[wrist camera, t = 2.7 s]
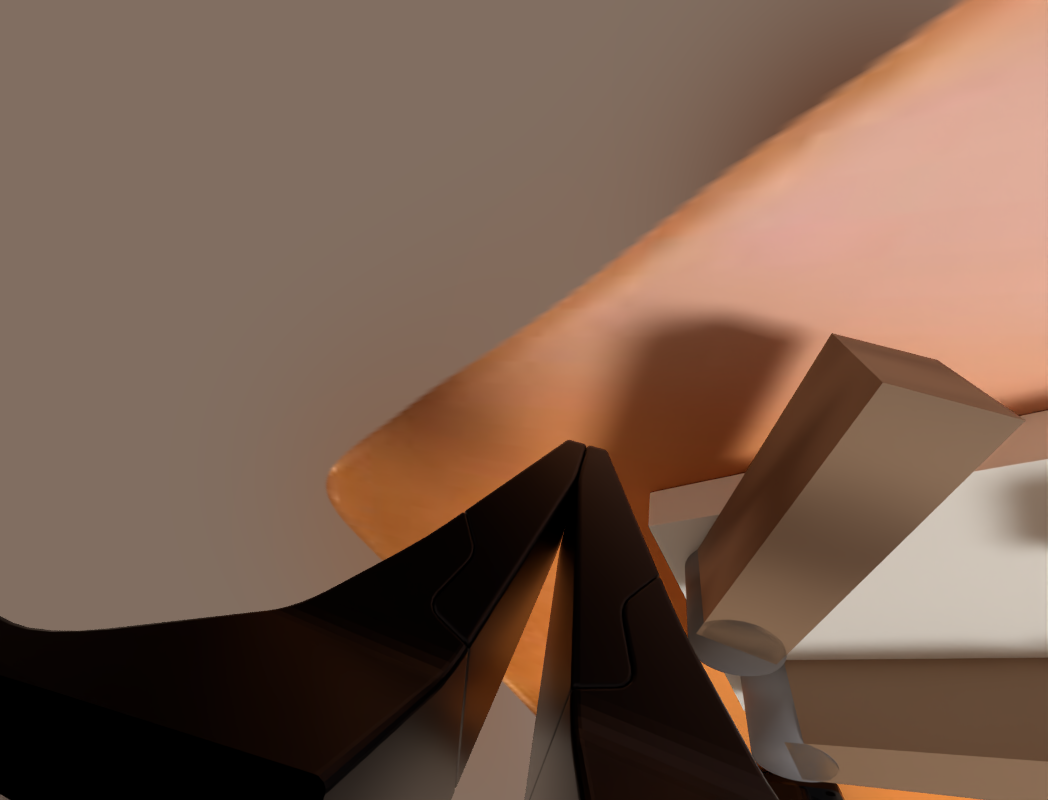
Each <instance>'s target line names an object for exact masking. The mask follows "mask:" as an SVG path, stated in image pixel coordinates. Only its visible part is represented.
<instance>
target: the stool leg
mask: <svg viewBox="0 0 1048 800" xmlns="http://www.w3.org/2000/svg"><path fill="white" fill-rule="evenodd" d="M1024 422H1025V420H1024V419H1023V418H1021V417H1020V416H1018V415H1017V414H1015V413H1014V412H1012V411H1011V410H1009V409H1008V408H1007V407H1005V406H1004V405H1002V404H1001V403H999V402H998V401H996V400H995V399H993V398H992V397H990V396H989V395H988V394H986V393H985V392H983V391H982V390H980V389H979V388H977V387H976V386H974V385H973V384H972V383H970V382H969V381H967V380H966V379H964V378H963V377H961V376H960V375H958V374H957V373H956V372H954V371H953V370H951V369H950V368H948V367H947V366H945V365H944V364H942V363H941V362H940V361H938V360H935V359H931V358H927V357H923V356H919V355H915V354H911V353H908V352H904V351H900V350H896V349H892V348H888V347H884V346H880V345H876V344H872V343H868V342H864V341H860V340H856V339H852V338H848V337H844V336H840V335H836V334H833V333H832V334H831V335H830V337H829V339H828V340H827V342H826V344H825V345H824V347H823V348H822V350H821V352H820V353H819V355H818V356H817V358H816V360H815V361H814V363H813V364H812V366H811V368H810V369H809V371H808V373H807V374H806V376H805V377H804V379H803V381H802V382H801V384H800V385H799V387H798V389H797V390H796V392H795V393H794V395H793V397H792V398H791V400H790V402H789V403H788V405H787V406H786V408H785V410H784V411H783V413H782V414H781V416H780V418H779V419H778V421H777V422H776V424H775V426H774V427H773V429H772V431H771V432H770V434H769V435H768V437H767V439H766V440H765V442H764V443H763V445H762V447H761V448H760V450H759V451H758V453H757V455H756V456H755V458H754V460H753V461H752V463H751V464H750V466H749V468H748V469H747V471H746V472H745V474H744V476H743V477H742V479H741V480H740V482H739V484H738V485H737V487H736V489H735V490H734V492H733V493H732V495H731V497H730V498H729V500H728V501H727V503H726V505H725V506H724V508H723V509H722V511H721V513H720V514H719V516H718V518H717V519H716V521H715V522H714V524H713V526H712V527H711V529H710V530H709V532H708V534H707V535H706V537H705V538H704V540H703V542H702V543H701V545H700V547H699V548H698V550H696V551H694V552H693V553H692V554H691V555H690V556H689V557H688V558H687V560H686V563H685V583H686V604H687V625H688V639H689V641H690V643H691V645H692V647H693V649H694V651H695V653H696V654H697V656H698V658H699V660H700V661H701V662H703V663H704V664H706V665H707V666H709V667H711V668H713V669H716V670H718V671H721V672H724V673H727V674H732V675H737V676H761V675H766V674H770V673H772V672H775V671H776V670H778V669H779V668H781V667H782V666H783V664H784V663H785V661H786V658H787V654H788V653H789V652H790V651H791V650H792V649H793V648H794V647H795V646H796V645H797V644H798V643H799V642H800V641H801V640H802V639H803V638H804V637H805V636H806V635H807V634H808V633H810V632H811V631H812V630H813V629H814V628H815V627H816V626H817V625H818V624H819V623H820V622H821V621H822V620H823V619H824V618H825V617H826V616H827V615H828V614H829V613H830V612H831V611H832V610H833V609H834V608H835V607H836V606H837V605H838V604H839V603H840V602H841V601H842V600H843V599H844V598H845V597H846V596H847V595H848V594H849V593H850V592H851V591H852V590H853V589H854V588H855V587H856V586H857V585H858V584H859V583H860V582H862V581H863V580H864V579H865V578H866V577H867V576H868V575H869V574H870V573H871V572H872V571H873V570H874V569H875V568H876V567H877V566H878V565H879V564H880V563H881V562H882V561H883V560H884V559H885V558H886V557H887V556H888V555H889V554H890V553H891V552H892V551H893V550H894V549H895V548H896V547H897V546H898V545H899V544H900V543H901V542H902V541H903V540H904V539H905V538H906V537H907V536H908V535H909V534H910V533H911V532H913V531H914V530H915V529H916V528H917V527H918V526H919V525H920V524H921V523H922V522H923V521H924V520H925V519H926V518H927V517H928V516H929V515H930V514H931V513H932V512H933V511H934V510H935V509H936V508H937V507H938V506H939V505H940V504H941V503H942V502H943V501H944V500H945V499H946V498H947V497H948V496H949V495H950V494H951V493H952V492H953V491H954V490H955V489H956V488H957V487H958V486H959V485H960V484H961V483H962V482H964V481H965V480H966V479H967V478H968V477H969V476H970V475H971V474H972V473H973V472H974V471H975V470H976V469H977V468H978V467H979V466H980V465H981V464H982V463H983V462H984V461H985V460H986V459H987V458H988V457H989V456H990V455H991V454H992V453H993V452H994V451H995V450H996V449H997V448H998V447H999V446H1000V445H1001V444H1002V443H1003V442H1004V441H1005V440H1006V439H1007V438H1008V437H1009V436H1010V435H1011V434H1012V433H1013V432H1014V431H1016V430H1017V429H1018V428H1019V427H1020V426H1021V425H1022V424H1023V423H1024Z"/></svg>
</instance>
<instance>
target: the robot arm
mask: <svg viewBox="0 0 1048 800" xmlns="http://www.w3.org/2000/svg"><path fill="white" fill-rule="evenodd" d="M564 529H565V530H564ZM563 533H564V534H563ZM562 536H563V538H562ZM561 540H562V542H561ZM560 543H561V546H560ZM559 546H560V552H559V558H558V565H557V572H556V579H555V586H554V594H553V601H552V608H551V615H550V622H549V629H548V636H547V643H546V650H545V658H544V665H543V672H542V679H541V686H540V693H539V700H538V707H537V714H536V722H535V729H534V737H533V743H532V750H531V757H530V765H529V772H528V778H527V786H526V793H525V800H844V798H843V795H842V793H841V791H840V789H839V786H838V785H837V784H836V783H829V782H802V781H796V780H791V779H787V778H784V777H781V776H778V775H774V774H765V773H762V772H761V770H760V769H759V767H758V765H757V763H756V762H755V760H754V758H753V756H752V755H751V753H750V751H749V749H748V747H747V745H746V744H745V742H744V740H743V738H742V736H741V735H740V733H739V731H738V729H737V727H736V726H735V724H734V722H733V720H732V718H731V716H730V715H729V713H728V711H727V709H726V707H725V706H724V704H723V702H722V700H721V698H720V697H719V695H718V693H717V691H716V689H715V687H714V686H713V684H712V682H711V680H710V678H709V677H708V675H707V673H706V671H705V669H704V668H703V666H702V664H701V662H700V660H699V658H698V656H697V654H696V653H695V651H694V649H693V647H692V645H691V643H690V641H689V639H688V637H687V635H686V633H685V632H684V630H683V628H682V626H681V623H680V621H679V619H678V617H677V615H676V612H675V610H674V608H673V606H672V604H671V601H670V599H669V597H668V595H667V592H666V590H665V587H664V585H663V582H662V580H661V579H660V578H659V573H658V571H657V569H656V566H655V564H654V561H653V559H652V557H651V554H650V552H649V550H648V547H647V545H646V542H645V540H644V538H643V535H642V533H641V531H640V528H639V526H638V523H637V521H636V519H635V516H634V514H633V512H632V509H631V507H630V504H629V502H628V500H627V497H626V495H625V493H624V490H623V488H622V485H621V483H620V481H619V478H618V476H617V474H616V471H615V469H614V466H613V464H612V462H611V459H610V457H609V455H608V452H607V451H606V450H604V449H600V448H597V447H593V446H588V447H587V448H586V445H585V444H582V443H579V442H575V441H572V440H567V441H565V442H564V443H563V444H561V445H560V446H558V447H557V448H555V449H554V450H552V451H551V452H550V453H548V454H547V455H545V456H544V457H542V458H541V459H539V460H538V461H537V462H535V463H534V464H532V465H531V466H529V467H528V468H526V469H525V470H524V471H522V472H521V473H519V474H518V475H516V476H515V477H513V478H512V479H511V480H509V481H508V482H506V483H505V484H503V485H502V486H500V487H499V488H498V489H496V490H495V491H493V492H492V493H490V494H489V495H487V496H486V497H485V498H483V499H482V500H480V501H479V502H477V503H476V504H474V505H473V506H472V507H470V508H469V509H467V510H466V511H465V513H461V514H460V515H458V516H457V517H455V518H454V519H453V520H451V521H450V522H448V523H447V524H445V525H444V526H442V527H440V528H439V529H437V530H436V531H434V532H433V533H431V534H430V535H428V536H427V537H425V538H423V539H421V540H420V541H418V542H416V543H414V544H413V545H411V546H409V547H407V548H406V549H404V550H402V551H400V552H399V553H397V554H395V555H393V556H391V557H389V558H387V559H385V560H384V561H382V562H380V563H378V564H376V565H374V566H373V567H371V568H369V569H367V570H365V571H363V572H361V573H360V574H358V575H356V576H354V577H352V578H350V579H348V580H346V581H344V582H343V583H341V584H339V585H337V586H335V587H333V588H331V589H329V590H327V591H326V592H323V593H321V594H319V595H317V596H315V597H313V598H310V599H308V600H305V601H303V602H300V603H297V604H294V605H291V606H288V607H284V608H280V609H275V610H268V611H259V612H250V613H243V614H233V615H224V616H215V617H206V618H198V619H189V620H180V621H171V622H162V623H154V624H145V625H137V626H127V627H118V628H110V629H98V630H86V631H51V630H44V629H35V628H28V627H24V626H22V625H19V624H15V623H13V622H11V621H8V620H7V619H5V618H3V617H1V616H0V800H451V798H452V796H453V794H454V790H455V788H456V786H457V784H458V782H459V780H460V777H461V775H462V773H463V770H464V768H465V766H466V763H467V761H468V759H469V756H470V754H471V752H472V749H473V747H474V745H475V742H476V740H477V738H478V735H479V733H480V730H481V728H482V726H483V724H484V721H485V719H486V717H487V714H488V712H489V710H490V707H491V705H492V702H493V700H494V698H495V696H496V693H497V691H498V689H499V686H500V684H501V682H502V680H503V677H504V675H505V673H506V670H507V668H508V666H509V663H510V661H511V659H512V656H513V654H514V652H515V649H516V647H517V645H518V642H519V640H520V638H521V635H522V633H523V631H524V628H525V626H526V624H527V621H528V619H529V617H530V614H531V612H532V610H533V607H534V605H535V603H536V600H537V598H538V596H539V593H540V591H541V589H542V586H543V584H544V582H545V579H546V577H547V575H548V572H549V570H550V568H551V565H552V563H553V561H554V558H555V556H556V553H557V551H558V548H559Z"/></svg>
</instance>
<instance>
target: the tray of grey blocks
mask: <svg viewBox="0 0 1048 800" xmlns="http://www.w3.org/2000/svg"><path fill="white" fill-rule="evenodd" d="M1020 417H1021V418H1023V419H1024V420H1025V422H1024V423H1023V424H1022V425H1021V426H1020V427H1019V428H1018V429H1017V430H1016V431H1014V432H1013V433H1012V434H1011V435H1010V436H1009V437H1008V438H1007V439H1006V440H1005V441H1004V442H1003V443H1002V444H1001V445H1000V446H999V447H998V448H997V449H996V450H995V451H994V452H993V453H992V454H991V455H990V456H989V457H988V458H987V459H986V460H985V461H984V462H983V463H982V464H981V465H980V466H979V467H978V468H977V469H976V470H975V471H974V472H973V473H972V474H971V475H970V476H969V477H968V478H967V479H966V480H965V481H964V482H962V483H961V484H960V485H959V486H958V487H957V488H956V489H955V490H954V491H953V492H952V493H951V494H950V495H949V496H948V497H947V498H946V499H945V500H944V501H943V502H942V503H941V504H940V505H939V506H938V507H937V508H936V509H935V510H934V511H933V512H932V513H931V514H930V515H929V516H928V517H927V518H926V519H925V520H924V521H923V522H922V523H921V524H920V525H919V526H918V527H917V528H916V529H915V530H914V531H913V532H911V533H910V534H909V535H908V536H907V537H906V538H905V539H904V540H903V541H902V542H901V543H900V544H899V545H898V546H897V547H896V548H895V549H894V550H893V551H892V552H891V553H890V554H889V555H888V556H887V557H886V558H885V559H884V560H883V561H882V562H881V563H880V564H879V565H878V566H877V567H876V568H875V569H874V570H873V571H872V572H871V573H870V574H869V575H868V576H867V577H866V578H865V579H864V580H863V581H862V582H860V583H859V584H858V585H857V586H856V587H855V588H854V589H853V590H852V591H851V592H850V593H849V594H848V595H847V596H846V597H845V598H844V599H843V600H842V601H841V602H840V603H839V604H838V605H837V606H836V607H835V608H834V609H833V610H832V611H831V612H830V613H829V614H828V615H827V616H826V617H825V618H824V619H823V620H822V621H821V622H820V623H819V624H818V625H817V626H816V627H815V628H814V629H813V630H812V631H811V632H810V633H808V634H807V635H806V636H805V637H804V638H803V639H802V640H801V641H800V642H799V643H798V644H797V645H796V646H795V647H794V648H793V649H792V650H791V651H790V652H789V653H788V654H787V658H786V661H785V663H784V664H783V666H782V667H781V668H779V669H778V670H776V671H775V672H772V673H770V674H766V675H761V676H737V675H732V674H727V673H725V675H726V677H727V679H728V681H729V683H730V685H731V686H732V688H733V690H734V692H735V694H736V696H737V698H738V700H739V702H740V704H741V706H742V708H743V710H744V711H745V712H746V719H747V725H748V732H749V739H750V746H751V752H752V756H753V758H754V760H755V761H756V762H757V763H758V764H759V765H760V766H761V767H763V768H764V769H766V770H767V771H769V772H771V773H773V774H776V775H778V776H781V777H784V778H787V779H791V780H796V781H802V782H829V783H838V784H847V785H856V786H865V787H874V788H883V789H892V790H901V791H911V792H920V793H929V794H938V795H947V796H956V797H965V798H974V799H983V800H1048V410H1046V411H1041V412H1037V413H1032V414H1027V415H1022V416H1020ZM744 474H745V473H742V474H738V475H733V476H728V477H723V478H718V479H714V480H709V481H704V482H699V483H694V484H689V485H685V486H680V487H675V488H670V489H665V490H660V491H656V492H651V493H650V503H649V523H648V527H649V528H650V530H651V532H652V534H653V536H654V538H655V540H656V542H657V544H658V546H659V548H660V550H661V552H662V554H663V555H664V557H665V559H666V561H667V563H668V565H669V567H670V569H671V571H672V573H673V575H674V577H675V579H676V580H677V582H678V584H679V586H680V588H681V590H682V592H683V594H684V596H685V598H686V583H685V563H686V560H687V558H688V557H689V556H690V555H691V554H692V553H693V552H694V551H696V550H698V548H699V547H700V545H701V543H702V542H703V540H704V538H705V537H706V535H707V534H708V532H709V530H710V529H711V527H712V526H713V524H714V522H715V521H716V519H717V518H718V516H719V514H720V513H721V511H722V509H723V508H724V506H725V505H726V503H727V501H728V500H729V498H730V497H731V495H732V493H733V492H734V490H735V489H736V487H737V485H738V484H739V482H740V480H741V479H742V477H743V476H744Z"/></svg>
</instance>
